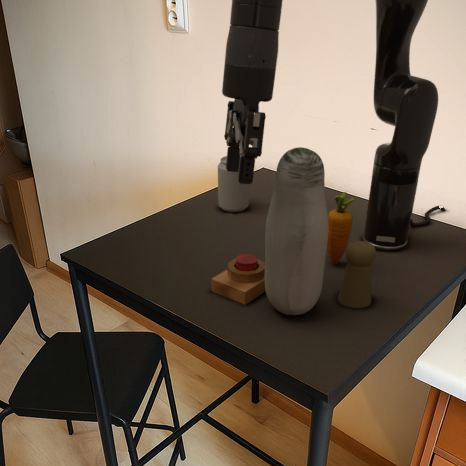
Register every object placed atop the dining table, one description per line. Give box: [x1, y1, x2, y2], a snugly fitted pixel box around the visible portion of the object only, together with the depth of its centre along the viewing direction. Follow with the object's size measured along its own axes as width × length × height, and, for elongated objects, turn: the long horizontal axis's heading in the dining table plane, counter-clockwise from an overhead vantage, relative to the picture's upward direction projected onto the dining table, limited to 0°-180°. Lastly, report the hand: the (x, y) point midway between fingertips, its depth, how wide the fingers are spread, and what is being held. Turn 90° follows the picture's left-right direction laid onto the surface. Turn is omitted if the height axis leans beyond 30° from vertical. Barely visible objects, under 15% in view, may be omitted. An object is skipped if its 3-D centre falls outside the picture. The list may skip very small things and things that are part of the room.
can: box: [217, 155, 250, 213], centre depth 141 cm, size 8×8×12 cm
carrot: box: [327, 191, 356, 266], centre depth 115 cm, size 5×5×15 cm
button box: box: [210, 258, 266, 305], centre depth 111 cm, size 8×11×4 cm
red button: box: [236, 253, 258, 271], centre depth 109 cm, size 4×4×2 cm
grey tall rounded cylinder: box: [264, 147, 329, 316], centre depth 97 cm, size 10×10×28 cm
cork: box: [337, 240, 377, 309], centre depth 105 cm, size 6×6×11 cm
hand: (238, 177), depth 93 cm, fingers open, 8 cm apart
